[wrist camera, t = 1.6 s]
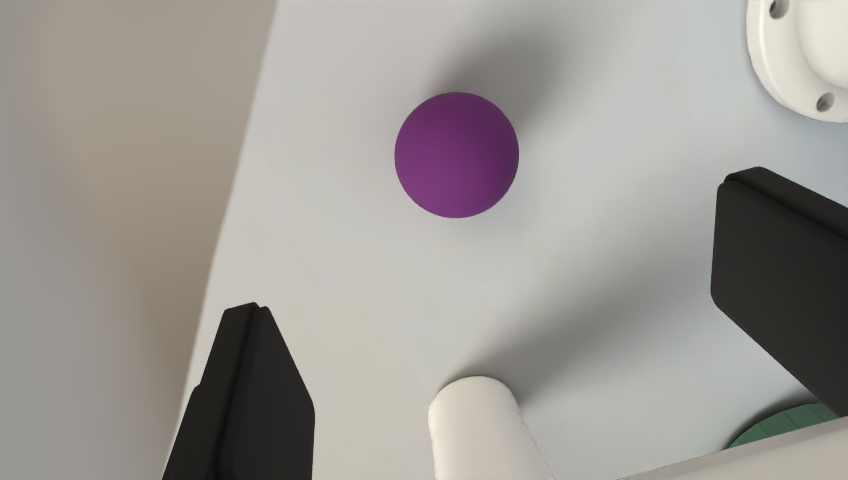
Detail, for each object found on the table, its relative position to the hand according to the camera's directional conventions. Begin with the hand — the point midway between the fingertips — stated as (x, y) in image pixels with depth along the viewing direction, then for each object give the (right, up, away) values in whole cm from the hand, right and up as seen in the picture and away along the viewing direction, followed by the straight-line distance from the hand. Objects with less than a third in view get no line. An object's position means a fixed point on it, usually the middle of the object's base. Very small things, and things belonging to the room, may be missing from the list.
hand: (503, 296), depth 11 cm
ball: (0, +5, +10) cm, 11 cm away
